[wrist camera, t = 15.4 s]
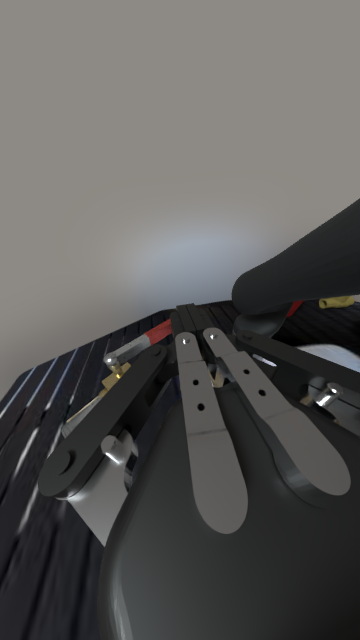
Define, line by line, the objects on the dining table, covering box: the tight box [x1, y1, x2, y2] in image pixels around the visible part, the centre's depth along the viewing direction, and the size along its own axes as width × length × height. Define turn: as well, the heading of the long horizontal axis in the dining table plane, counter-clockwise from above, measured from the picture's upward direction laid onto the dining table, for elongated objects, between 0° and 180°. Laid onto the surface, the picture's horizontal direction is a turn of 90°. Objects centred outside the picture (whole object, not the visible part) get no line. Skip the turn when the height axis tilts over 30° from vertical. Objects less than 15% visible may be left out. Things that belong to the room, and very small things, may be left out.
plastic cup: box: [287, 300, 304, 317], centre depth 68 cm, size 11×11×12 cm
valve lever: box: [104, 319, 172, 370], centre depth 39 cm, size 20×3×3 cm, turn 133°
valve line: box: [61, 362, 131, 438], centre depth 39 cm, size 30×7×13 cm, turn 139°
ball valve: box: [319, 296, 354, 309], centre depth 73 cm, size 13×10×10 cm
